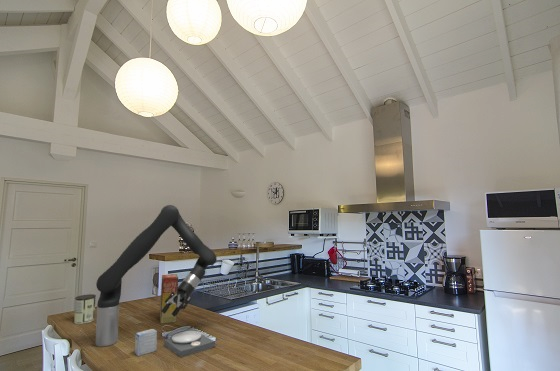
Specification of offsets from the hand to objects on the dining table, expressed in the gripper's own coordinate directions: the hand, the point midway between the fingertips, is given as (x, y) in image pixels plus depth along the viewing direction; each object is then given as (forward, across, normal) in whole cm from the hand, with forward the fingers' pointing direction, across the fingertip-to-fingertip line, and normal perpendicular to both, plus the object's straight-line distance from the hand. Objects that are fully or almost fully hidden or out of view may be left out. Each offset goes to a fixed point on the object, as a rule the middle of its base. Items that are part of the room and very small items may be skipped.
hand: (167, 314), depth 147 cm
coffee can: (+16, -72, +4) cm, 74 cm away
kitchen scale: (+6, +10, +13) cm, 18 cm away
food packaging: (-6, -34, +25) cm, 43 cm away
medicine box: (+17, 0, +2) cm, 17 cm away
